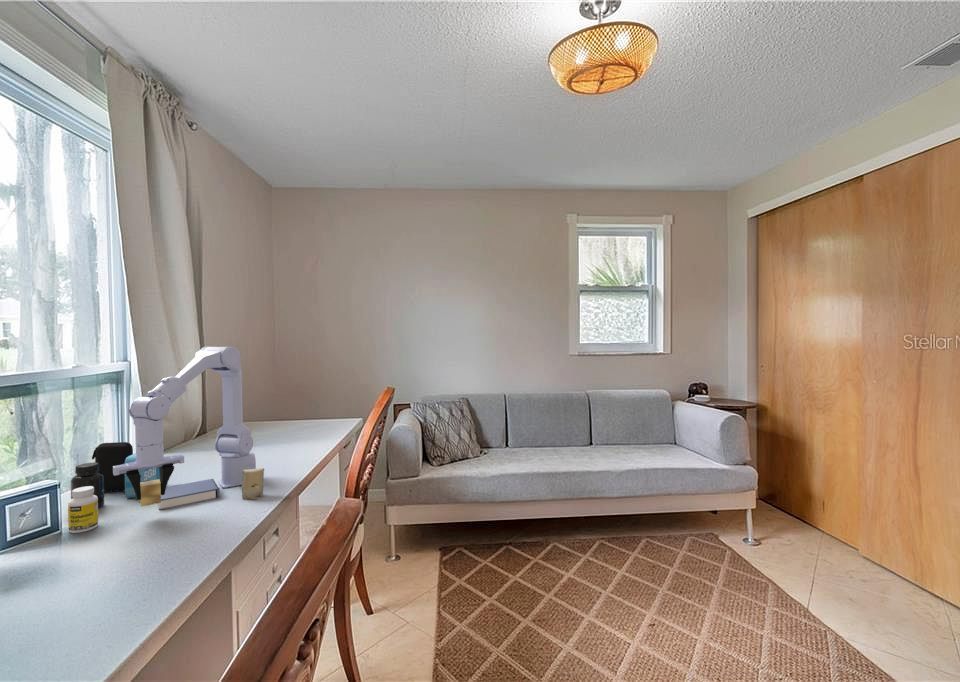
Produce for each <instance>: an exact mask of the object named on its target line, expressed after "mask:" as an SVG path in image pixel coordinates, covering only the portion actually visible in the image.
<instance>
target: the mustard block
mask: <svg viewBox="0 0 960 682" xmlns="http://www.w3.org/2000/svg"><path fill="white" fill-rule="evenodd" d="M140 491H141V500H140V507H145V506H151V505H155V504H158V503H161V483H160V479H157V480H151V481H146V482H140Z"/></svg>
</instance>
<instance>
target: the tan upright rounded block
mask: <svg viewBox="0 0 960 682" xmlns="http://www.w3.org/2000/svg"><path fill="white" fill-rule="evenodd" d="M264 472H265V468H263V467H261V468H256V469H248V470H243V471H242V473H243V476H242V485H241V497H242V499H243V500H255V499H258V498H261V497H263V495H264V483H265V481H264V475H265V474H264Z"/></svg>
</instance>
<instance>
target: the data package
mask: <svg viewBox="0 0 960 682" xmlns="http://www.w3.org/2000/svg"><path fill="white" fill-rule="evenodd" d="M135 461H136V452H135V453H133V455H130V456H128V457H127V458H126V460H125V464H126V463H130V462H135ZM139 474H140V475H141V479H140V482H146V481H151V480H157V479H160V472H159V467H155V468H150V469H144V470H139ZM124 496H125V498H127V499H132V498H133V499H134V498H135V499H136V495H135V491H134V488H133V486H132V484H131V482H130V480H129V479H128V477H127V475H126V474H125V491H124Z"/></svg>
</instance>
